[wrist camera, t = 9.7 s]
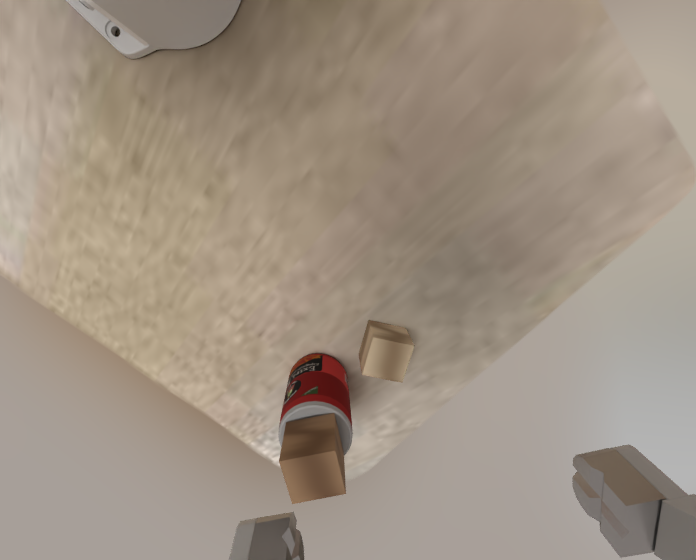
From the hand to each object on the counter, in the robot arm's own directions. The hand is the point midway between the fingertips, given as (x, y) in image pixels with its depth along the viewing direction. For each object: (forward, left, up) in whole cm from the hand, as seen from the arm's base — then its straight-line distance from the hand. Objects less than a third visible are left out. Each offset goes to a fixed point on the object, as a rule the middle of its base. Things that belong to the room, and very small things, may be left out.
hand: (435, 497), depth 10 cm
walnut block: (+6, -17, -22) cm, 28 cm away
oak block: (+10, -8, -33) cm, 35 cm away
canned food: (+6, -17, -33) cm, 38 cm away
